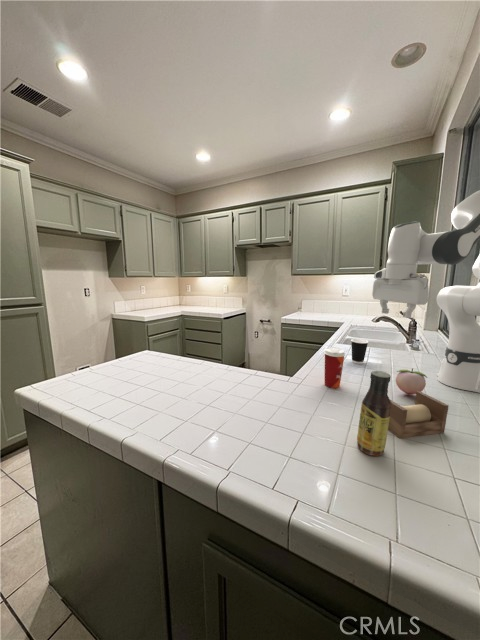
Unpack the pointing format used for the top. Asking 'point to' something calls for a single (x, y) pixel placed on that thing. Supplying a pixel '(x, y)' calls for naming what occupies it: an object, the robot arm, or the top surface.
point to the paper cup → (333, 366)
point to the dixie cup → (358, 350)
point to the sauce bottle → (375, 415)
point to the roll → (417, 414)
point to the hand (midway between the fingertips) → (395, 315)
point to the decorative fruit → (410, 381)
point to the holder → (418, 429)
